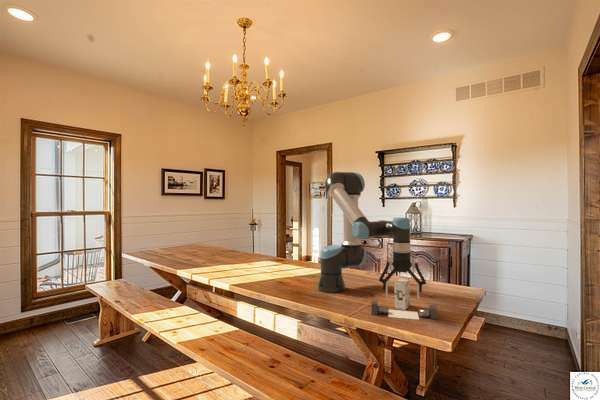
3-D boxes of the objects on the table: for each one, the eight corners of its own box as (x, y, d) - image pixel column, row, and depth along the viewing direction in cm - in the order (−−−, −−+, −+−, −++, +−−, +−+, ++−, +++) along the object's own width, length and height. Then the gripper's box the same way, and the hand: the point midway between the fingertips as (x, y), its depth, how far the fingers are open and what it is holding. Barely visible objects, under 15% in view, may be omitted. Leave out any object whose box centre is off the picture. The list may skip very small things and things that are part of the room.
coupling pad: (388, 317, 131) (388, 316, 131) (388, 310, 140) (388, 309, 140) (419, 320, 128) (419, 319, 128) (417, 312, 136) (417, 311, 136)
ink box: (399, 303, 149) (399, 278, 149) (410, 305, 146) (409, 279, 146) (394, 308, 141) (394, 282, 142) (405, 310, 139) (405, 283, 139)
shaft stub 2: (420, 318, 130) (420, 307, 130) (419, 314, 134) (419, 303, 134) (437, 320, 128) (437, 309, 128) (435, 315, 133) (435, 305, 133)
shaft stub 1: (371, 314, 135) (371, 304, 135) (372, 310, 140) (372, 300, 140) (387, 315, 133) (387, 305, 133) (387, 311, 138) (387, 301, 138)
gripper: (373, 251, 144) (373, 298, 144) (432, 253, 137) (432, 302, 137) (374, 249, 151) (374, 293, 151) (430, 251, 144) (430, 297, 144)
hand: (402, 298), depth 144 cm, fingers open, 13 cm apart
